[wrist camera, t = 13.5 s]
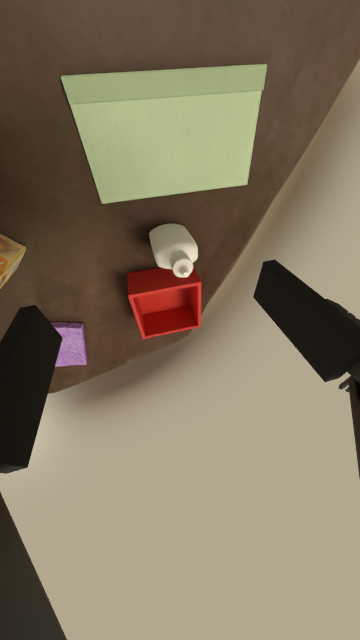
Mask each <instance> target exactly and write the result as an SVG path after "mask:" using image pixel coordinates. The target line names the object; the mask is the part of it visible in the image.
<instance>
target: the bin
mask: <svg viewBox="0 0 360 640" xmlns="http://www.w3.org/2000/svg"><path fill="white" fill-rule="evenodd" d="M127 281H128V297H129V300H130V303H131V306H132V309H133V312H134V315H135V318H136V321H137V324H138V327H139V329H140V332H141V335H142V338H143V339H146V338H150V337H155V336H160V335H164V334H169V333H174V332H178V331H183V330H188V329H192V328H196V327H201V280H200V278H199V277H198V275H197V273H196V271H195V269H194V268H193V270H192V272H191V273H190V274H189V276H188V277H186V278H185V277H177V276H176V275H175V274H174V273H173V270H172V269H165V268H161V267H160V268H155V269H149V270H143V271H137V272H132V273H127Z"/></svg>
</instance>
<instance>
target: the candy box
mask: <svg viewBox="0 0 360 640" xmlns="http://www.w3.org/2000/svg"><path fill="white" fill-rule="evenodd" d="M25 251H26V247H25V246H23V245H21V244H19V243H17V242H15V241H13V240H11V239H10V238H8V237H6V236H4V235H2V234H0V289H1V287H2V286H3V285H4V284H5V282H6V281H7V280H8V279H9V278H10V276H11V275H12V274H13V273H14V271H15V270H16V269H17V267H18V265H19V263H20V261H21V259H22V257H23V255H24V253H25Z"/></svg>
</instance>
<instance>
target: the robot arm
mask: <svg viewBox="0 0 360 640" xmlns="http://www.w3.org/2000/svg"><path fill="white" fill-rule="evenodd" d="M254 298H255V299H256V301H257V302H258V303H259V304H260V305H261V307H262V308H263V309H264V310H265V312H266V313H267V314H268V315H269V316H270V317H271V319H272V320H273V321H274V322H275V323H276V325H277V326H278V327H279V328H280V329H281V330H282V332H283V333H284V334H285V335H286V336H287V338H289V340H290V341H291V342H292V343H293V345H294V346H295V347H296V348H297V349H298V350H299V352H300V353H301V354H302V355H303V357H304V358H305V359H306V360H307V361H308V363H309V364H310V365H311V366H312V367H313V368H314V370H315V371H316V372H317V373H318V374H319V376H320V377H321V378H322V379H323V380H324V382H327V381H330V380H334V379H337V378H340V377H341V376H342V375H343V374H345V373H346V372H348V373H349V374H350V375H351V376H350V377H349V378H348V379H346V380H345V381H344V382H343V383H341V384H340V385H339V389H343V388H345V387H346V386H347V385H349V387H348V388H347V389H346V391H347V392H349V393H350V401H351V409H352V417H353V426H354V435H355V443H356V451H357V460H358V468H359V476H360V320H359V319H356V317H355V316H354V315H352V314H351V313H348V311H347V310H346V309H344V308H343V307H342V306H340V305H339V304H337V303H335V302H333V301H331V300H329V299H324V298H323V297H322V296H320V295H319V294H318V293H317V292H315V291H314V290H313V289H311V288H310V287H309V286H307V285H306V284H305V283H304V282H303V281H301V280H300V279H299V278H297V277H296V276H295V275H294V274H292V273H291V272H290V271H289V270H287V269H286V268H285V267H283V266H282V265H281V264H280V263H278V262H277V261H276V260H271V261H266V262H263V265H262V269H261V272H260V276H259V279H258V283H257V286H256V290H255V293H254ZM62 339H63V337H62V336H61V335H60V334H59V332H58V331H57V330H56V329H55V328H54V327H53V325H52V324H51V323H50V322H49V321H48V319H47V318H46V317H45V316H44V315H43V313H42V312H41V311H40V310H39V309H38V308H37V306H36V305H33V306H28V307H23V308H20V309H19V310H18V312H17V314H16V316H15V317H14V319H13V321H12V323H11V325H10V326H9V328H8V330H7V332H6V333H5V335H4V337H3V339H2V340H1V342H0V473H10V472H13V471H17V470H20V469H24V468H27V467H28V464H29V460H30V456H31V453H32V449H33V445H34V442H35V438H36V435H37V431H38V427H39V423H40V420H41V416H42V412H43V409H44V405H45V401H46V398H47V394H48V390H49V387H50V383H51V379H52V376H53V372H54V368H55V365H56V361H57V357H58V354H59V350H60V346H61V343H62ZM0 640H67V639H66V637H65V635H64V632H63V630H62V628H61V626H60V624H59V621H58V619H57V617H56V615H55V613H54V610H53V609H52V606H51V604H50V602H49V599H48V597H47V595H46V593H45V590H44V588H43V586H42V584H41V581H40V579H39V577H38V575H37V573H36V571H35V568H34V566H33V564H32V562H31V559H30V557H29V555H28V553H27V551H26V548H25V546H24V544H23V542H22V539H21V537H20V535H19V533H18V530H17V528H16V526H15V524H14V522H13V519H12V517H11V515H10V513H9V510H8V508H7V506H6V504H5V502H4V499H3V498H2V495H1V493H0Z"/></svg>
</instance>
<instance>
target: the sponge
mask: <svg viewBox="0 0 360 640" xmlns="http://www.w3.org/2000/svg"><path fill="white" fill-rule="evenodd" d="M50 323H51V324H52V325H53V327H54V328H55V329H56V330H57V331H58V332H59V334H60V335H61V336H62V337H63V339H62V343H61V346H60V350H59V354H58V357H57V361H56V365H55V367H56V366H67V365H86V363H87V353H86V346H85V337H84V328H83V324H82V323H67V322H64V323H62V322H57V323H55V322H54V323H53V322H50Z"/></svg>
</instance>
